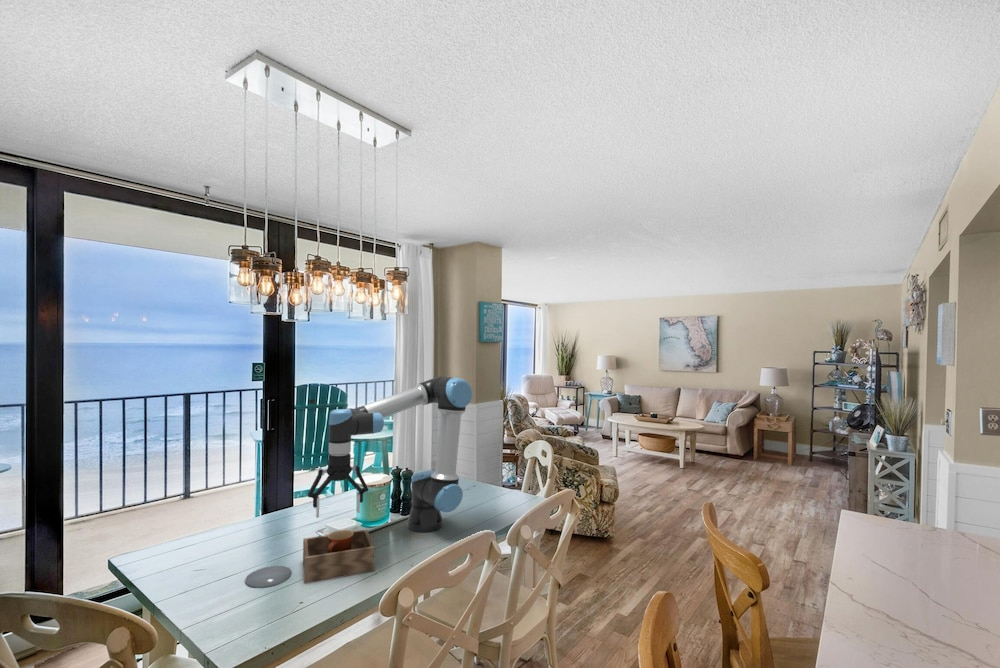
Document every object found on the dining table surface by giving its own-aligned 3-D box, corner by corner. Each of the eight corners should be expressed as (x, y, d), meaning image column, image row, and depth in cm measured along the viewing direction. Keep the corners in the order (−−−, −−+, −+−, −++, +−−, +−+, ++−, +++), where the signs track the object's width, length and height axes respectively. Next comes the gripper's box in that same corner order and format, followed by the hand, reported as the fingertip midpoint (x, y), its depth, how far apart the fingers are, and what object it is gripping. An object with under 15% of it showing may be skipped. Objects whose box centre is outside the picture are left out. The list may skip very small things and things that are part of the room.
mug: (335, 557, 176) (336, 529, 176) (357, 559, 175) (358, 531, 175) (316, 572, 165) (317, 542, 165) (340, 575, 163) (340, 544, 163)
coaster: (291, 564, 170) (291, 563, 170) (291, 582, 157) (291, 581, 157) (246, 572, 164) (247, 570, 164) (243, 591, 152) (243, 589, 152)
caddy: (366, 550, 182) (367, 529, 182) (374, 570, 166) (374, 547, 166) (303, 560, 173) (303, 538, 173) (304, 583, 157) (304, 558, 157)
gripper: (373, 449, 179) (372, 506, 178) (301, 454, 169) (299, 515, 168) (377, 453, 172) (375, 513, 171) (301, 458, 162) (300, 522, 161)
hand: (338, 514), depth 170 cm, fingers open, 13 cm apart
